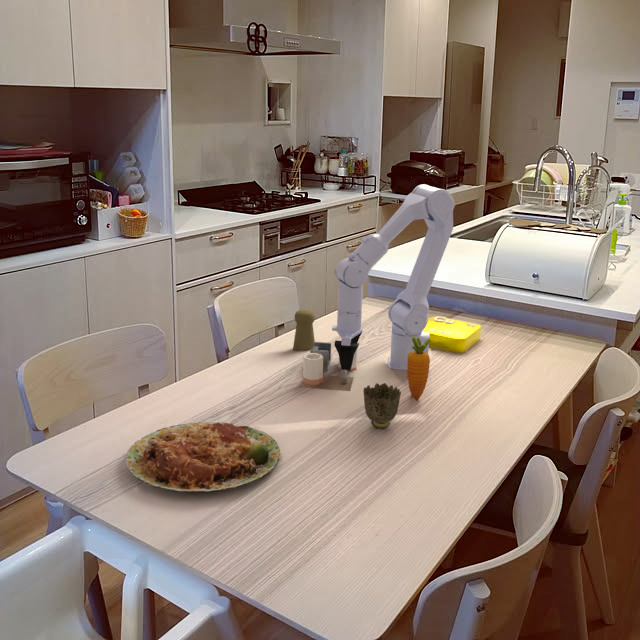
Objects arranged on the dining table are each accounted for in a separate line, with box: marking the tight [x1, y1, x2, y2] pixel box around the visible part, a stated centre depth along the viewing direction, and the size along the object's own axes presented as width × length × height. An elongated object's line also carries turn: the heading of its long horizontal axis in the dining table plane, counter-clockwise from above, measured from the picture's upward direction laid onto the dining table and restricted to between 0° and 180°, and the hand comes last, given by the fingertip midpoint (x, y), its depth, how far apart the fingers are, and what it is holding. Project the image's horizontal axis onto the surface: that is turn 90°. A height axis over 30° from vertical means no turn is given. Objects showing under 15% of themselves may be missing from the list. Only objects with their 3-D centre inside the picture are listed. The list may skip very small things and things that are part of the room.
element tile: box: [423, 315, 482, 354], centre depth 194 cm, size 15×15×5 cm
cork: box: [292, 309, 316, 352], centre depth 182 cm, size 6×6×11 cm
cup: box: [362, 382, 402, 430], centre depth 142 cm, size 8×7×8 cm
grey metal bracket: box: [309, 341, 332, 372], centre depth 170 cm, size 11×6×6 cm, turn 82°
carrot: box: [406, 336, 431, 401], centre depth 153 cm, size 5×5×15 cm
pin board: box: [301, 369, 354, 392], centre depth 161 cm, size 11×8×4 cm
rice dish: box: [124, 421, 282, 493], centre depth 129 cm, size 28×28×5 cm
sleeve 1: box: [302, 352, 324, 385], centre depth 161 cm, size 4×4×6 cm
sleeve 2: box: [337, 349, 358, 372], centre depth 170 cm, size 4×4×6 cm
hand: (347, 364), depth 170 cm, fingers open, 7 cm apart
